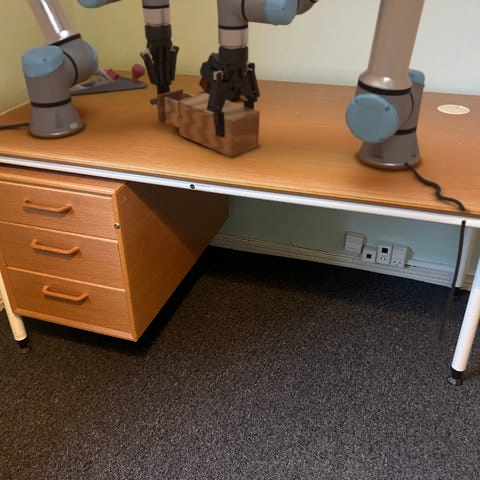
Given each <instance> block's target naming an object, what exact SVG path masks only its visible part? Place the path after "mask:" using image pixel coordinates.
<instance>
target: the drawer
mask: <svg viewBox="0 0 480 480" xmlns="http://www.w3.org/2000/svg"><path fill="white" fill-rule="evenodd" d="M192 96H195V94H192V93H189V92H186V91H184V88H181V87H180V88H177V89H173V90H170V92H166V93H163V94H160V95H157V94H156V97H153V98H150V99H149V104H150V105H151V106H155V105H156V106H157V116H158V123H159V124H163V123H166V124H168V125H171V126H174V127H176V128H178V129H179V119H178V101H179V100H183V99H186V98H189V97H192Z"/></svg>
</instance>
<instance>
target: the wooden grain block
mask: <svg viewBox="0 0 480 480" xmlns="http://www.w3.org/2000/svg"><path fill="white" fill-rule="evenodd" d="M194 95H195V94H194ZM208 99H209V94H207V93H206V92H202V93H199V94H196V95H195V96H192V97H189V98H186V99H183V100H179V101H178V119H179V128H178V134H179V135H178V136H181V137H183V138H186V139H188V140H190V141H192V142H195V143H197V144H200V145H202V146H204V147H206V148H209V149H212V150H214V151H217V152H219V153H221V154H222V155H226V156H228V157H230V158H234V157H236V156H237V157H238V156H239V155H242V154H244V153H246V152H248V151H250V150H253V149H255V148H258V147H259V140H260V139H259V136H260V135H259V134H260V115H261V114H260V113H261V112H260V111H259V110H256V109H255V108H254V109H251V108H248V107H245V106H244V105H242V104H239V103H236V102H233V101H228V100H227V99H226V101H225V104H224V107H223V109H222V112H224V125H225V137H221V136H218V135H216V132H215V124H214V115H213V112H211V111H208V110H207V105H208ZM217 108H218V107H217Z"/></svg>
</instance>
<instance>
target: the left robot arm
mask: <svg viewBox="0 0 480 480" xmlns="http://www.w3.org/2000/svg"><path fill="white" fill-rule="evenodd" d="M76 1H77V2H78V5H80V6H81V7H83V8H85V9H99V8H102V7H104V6H106V5H111V4H115V3H117V2H120V1H122V0H76ZM26 2H27V5H28V6H29V8H30V10H31V12H32V15H33V17H34V19H35V21H36V23H37V25H38V27H39V28H40V30H41V33H42V35H43V37H44V39H45V40H44V43H43V45H41V46H38V47H34V48H30V49H29V50H27V51H25V52H24V53H23V54H22V56H21V59H20V60H21V61H20V62H21V67H22V68H21V70H22V74H23V78H24V81H25V86H26V89H27V93H28V97H29V102H30V106H31V110H30V120H29V122H21V123H15V124H6V125H0V130H4V129H13V128H21V127H29V130H30V134H31V135H32V136H34V137H36V138H40V139H59V138H64V137H69V136H71V135H74V134H75V135H76V134H77V133H79V132H80V131H81V130H83V128H84V125H83V120H82V118H81V117H80V115H79V112H78V111H77V109H76V107H75V105H74V103H73V99H72V95H71V94H70V88H71V87H73V86H75V85H77V84H78V85H80V84H82V83H84V82H86V81H87V82H88V80H89V79H91V78H92V77H93V76H95V75H94V74H95V73H96V71H97V67H98V66H99V56H98V53H97V51H96V49H95V47H94V46H93V45H92V44H91V43H89V42H88V41H87V40H84V39H83V37H82V35H81V33H80V31H78V30H76V29H74V28H73V27H72V26H71V24H70V21H69V19H68V16H67V15H66V13H65V10H64V8H63V6H62V4H61V1H60V0H26ZM141 6H142V7H141V8H142V15H143V22H144V23H145V24H144V26H143V27H144V37H145V39H146V45H145V47H146V49H145V50H143V51H140V52H139V56H140V58H141V59H142V60H143V63H144V68H145V71H146V74H147V76H148V80H149V83H150V84H151V85H154V86H156V96H157V95H160V94H163V93H166V92H170V91H171V87H170V86H172V84H173V82H175V79H176V70H177V60H178V54H179V51H180V47H179V46H177V45H174V44H173V41H172V37H173V29H172V24H171V22H172V17H171V14H172V13H171V5H170V0H141Z"/></svg>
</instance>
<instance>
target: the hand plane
mask: <svg viewBox="0 0 480 480" xmlns="http://www.w3.org/2000/svg"><path fill="white" fill-rule="evenodd" d="M131 73H132V76H131V78H130V77H126V76H123V75H120V74H119V73H117V72H116V71H114V70H113V69H112V68H111V67H109V68H108V70H107V71H105V70H104V69H103V68H102V67H100V65H98V67H97V71H96V73H95V74H94V75H93V76H94V77H97V78H95V79H90V81H89V82H86V83H80V84H77V85H75V86H73V87H71V88H70V94H71V96H74V95H84V94H94V93H104V92H112V91H113V92H114V91H121V90H132V89H142V88H146V83H145V81H143V80H139V78H142V77H144V76H145V75H146V67H145V66H143V65H141V64H139V63H134V64H133V65H132V66H131Z"/></svg>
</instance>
